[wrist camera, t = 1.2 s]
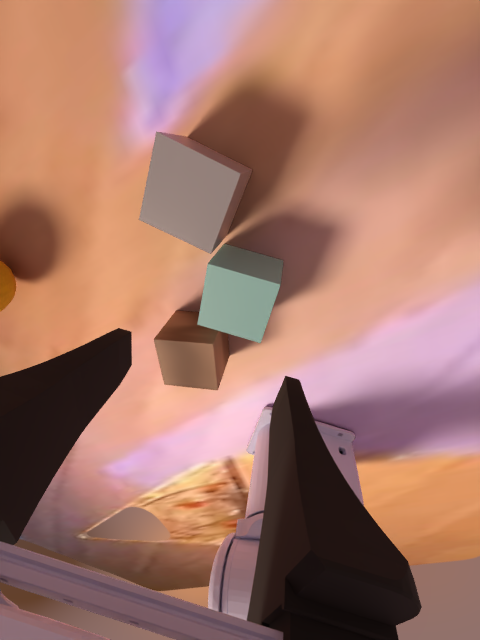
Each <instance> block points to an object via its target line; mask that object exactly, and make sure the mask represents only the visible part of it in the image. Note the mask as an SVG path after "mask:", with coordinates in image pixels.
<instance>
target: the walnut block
mask: <svg viewBox="0 0 480 640" xmlns="http://www.w3.org/2000/svg"><path fill="white" fill-rule="evenodd" d="M198 318H199V312H192V311H175V313H174V314H173V315H172V317H171V318H170V319H169V320H168V322H167V323H166V324H165V326H164V327H163V328H162V329H161V331H160V332H159V333H158V335H157V336H156V337H155V338H154V343H155V347H156V351H157V355H158V360H159V364H160V368H161V372H162V376H163V381H164V385H173V386H183V387H192V388H201V389H210V390H218V388H219V385H220V382H221V379H222V376H223V373H224V370H225V367H226V364H227V361H228V358H229V343H228V333H224V332H221V331H218V330H214V329H211V328H207V327H204V326H201V325H197V324H198Z"/></svg>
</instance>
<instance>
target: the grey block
mask: <svg viewBox="0 0 480 640" xmlns="http://www.w3.org/2000/svg"><path fill="white" fill-rule="evenodd" d="M251 173H252V169H250V168H248V167H246V166H244V165H242V164H240V163H238V162H236V161H234V160H232V159H230V158H228V157H226V156H224V155H222V154H220V153H218V152H216V151H214V150H212V149H210V148H208V147H206V146H205V145H203V144H201V143H199V142H197V141H195V140H193V139H191V138H189V137H185V136H179V135H173V134H168V133H162V132H156V137H155V142H154V147H153V152H152V157H151V162H150V167H149V172H148V177H147V182H146V187H145V192H144V197H143V202H142V207H141V213H140V218H139V220H141V221H143V222H145V223H147V224H149V225H151V226H153V227H155V228H157V229H159V230H162V231H164V232H166V233H168V234H170V235H172V236H174V237H176V238H178V239H181V240H183V241H185V242H187V243H189V244H191V245H193V246H195V247H197V248H199V249H202V250H204V251H206V252H208V253H210V254H211V253H212V252H213V251H214V250H215V249H216V247H217V246H218V245H219V244H220V243H221V242H222V240H223V239H224V238H225V237H226V236H227V234H228V231H229V229H230V226H231V224H232V221H233V219H234V216H235V214H236V211H237V209H238V206H239V203H240V201H241V198H242V196H243V193H244V191H245V188H246V186H247V183H248V181H249V178H250V175H251Z"/></svg>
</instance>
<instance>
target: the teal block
mask: <svg viewBox="0 0 480 640" xmlns="http://www.w3.org/2000/svg"><path fill="white" fill-rule="evenodd" d="M283 261H284V260H280V259H277V258H273V257H270V256H266V255H263V254H259V253H256V252H252V251H249V250H245V249H242V248H238V247H235V246H231V245H228V244H224V245H223V246H222V247H221V248H220V249H219V251H218V252H217V253H216V254H215V256H214V257H213V258H212V259H211V260H210V262H209V263H208V265H207V271H206V277H205V283H204V289H203V295H202V300H201V306H200V312H199V318H198V324H197V325H201V326H204V327H207V328H211V329H214V330H218V331H221V332H224V333H228V334H231V335H235V336H238V337H241V338H245V339H248V340H252V341H255V342H258V343H261V340H262V337H263V335H264V332H265V329H266V326H267V323H268V320H269V317H270V314H271V311H272V308H273V305H274V302H275V299H276V297H277V294H278V291H279V288H280V285H281V277H282V269H283Z"/></svg>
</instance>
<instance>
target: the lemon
mask: <svg viewBox="0 0 480 640" xmlns="http://www.w3.org/2000/svg"><path fill="white" fill-rule="evenodd" d="M15 291H16V281H15V278H14V275H13V273H12V270H11V269H10V268H9V267H7V266H6V265H5V264H4V263H3V262H2V261H0V312H1V311H2V310H3V309H4V308H5V307H6V306H7V305H8V304H9V303H10V302H11V301H12V299H13V297H14V295H15Z"/></svg>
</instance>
